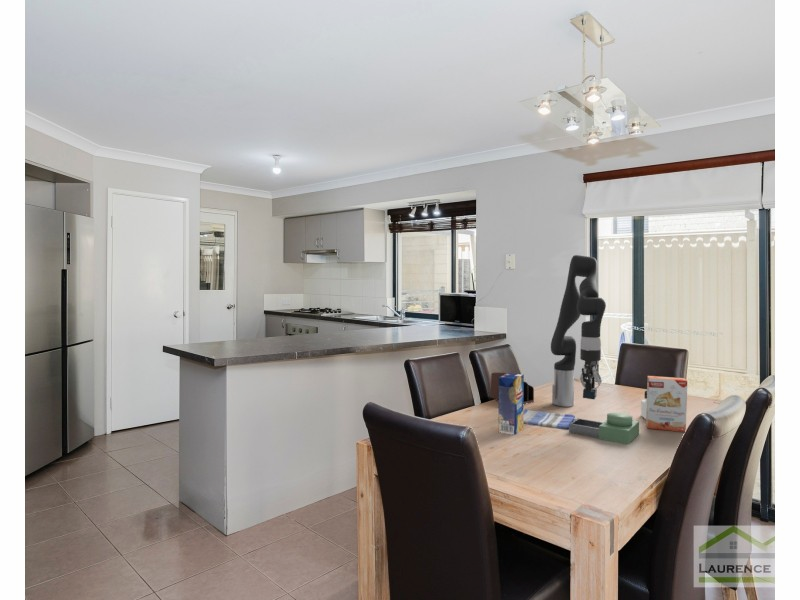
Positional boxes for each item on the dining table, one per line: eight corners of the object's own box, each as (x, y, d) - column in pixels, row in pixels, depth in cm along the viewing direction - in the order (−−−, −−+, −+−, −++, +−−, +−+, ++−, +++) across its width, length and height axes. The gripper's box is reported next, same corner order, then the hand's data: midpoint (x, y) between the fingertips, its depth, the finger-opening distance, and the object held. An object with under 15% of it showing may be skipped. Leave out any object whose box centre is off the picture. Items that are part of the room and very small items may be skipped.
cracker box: (647, 429, 206) (648, 377, 205) (645, 425, 212) (646, 375, 211) (686, 432, 201) (687, 380, 200) (684, 428, 207) (685, 377, 206)
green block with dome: (597, 438, 194) (598, 417, 193) (609, 428, 206) (610, 409, 206) (628, 444, 187) (628, 422, 186) (638, 433, 199) (639, 413, 199)
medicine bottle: (663, 420, 218) (663, 393, 217) (645, 419, 219) (645, 392, 219) (658, 416, 225) (658, 389, 224) (640, 415, 226) (641, 388, 226)
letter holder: (521, 405, 245) (521, 376, 245) (490, 398, 261) (490, 370, 260) (534, 402, 251) (534, 374, 251) (502, 395, 267) (502, 368, 266)
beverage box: (523, 427, 208) (523, 374, 207) (515, 435, 198) (515, 379, 197) (507, 425, 211) (507, 372, 210) (498, 432, 202) (498, 377, 201)
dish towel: (522, 413, 232) (523, 407, 231) (576, 420, 220) (576, 414, 220) (511, 423, 216) (511, 416, 216) (568, 431, 205) (568, 424, 205)
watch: (599, 400, 197) (601, 372, 196) (578, 397, 200) (579, 369, 199) (601, 396, 202) (603, 369, 201) (580, 393, 205) (581, 367, 204)
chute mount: (569, 432, 201) (569, 423, 201) (577, 426, 209) (577, 418, 209) (599, 438, 194) (599, 429, 194) (607, 431, 202) (607, 423, 202)
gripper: (586, 345, 208) (586, 387, 209) (574, 349, 197) (574, 393, 197) (605, 346, 203) (604, 389, 204) (594, 350, 192) (594, 396, 193)
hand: (589, 391), depth 201 cm, fingers closed on watch, 3 cm apart
